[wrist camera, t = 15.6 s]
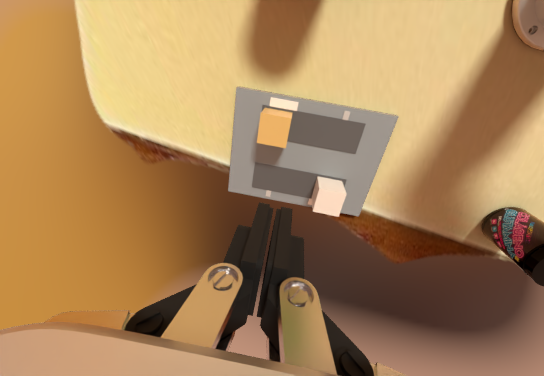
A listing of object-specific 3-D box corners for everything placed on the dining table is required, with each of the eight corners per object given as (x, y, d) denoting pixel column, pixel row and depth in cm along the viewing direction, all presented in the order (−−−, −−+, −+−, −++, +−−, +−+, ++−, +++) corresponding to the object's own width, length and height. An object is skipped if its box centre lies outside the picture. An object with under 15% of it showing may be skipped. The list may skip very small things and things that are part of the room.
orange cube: (292, 112, 34) (291, 118, 30) (287, 139, 36) (285, 148, 32) (265, 107, 34) (260, 112, 30) (261, 134, 36) (256, 142, 32)
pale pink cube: (341, 180, 38) (346, 193, 34) (335, 202, 40) (338, 216, 36) (317, 176, 38) (319, 188, 34) (311, 197, 40) (312, 211, 36)
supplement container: (525, 199, 37) (599, 242, 28) (528, 231, 40) (596, 280, 31) (477, 212, 39) (530, 257, 30) (482, 242, 42) (533, 292, 33)
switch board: (395, 115, 34) (398, 116, 33) (357, 212, 42) (358, 216, 41) (238, 86, 34) (236, 87, 33) (230, 188, 42) (228, 191, 41)
